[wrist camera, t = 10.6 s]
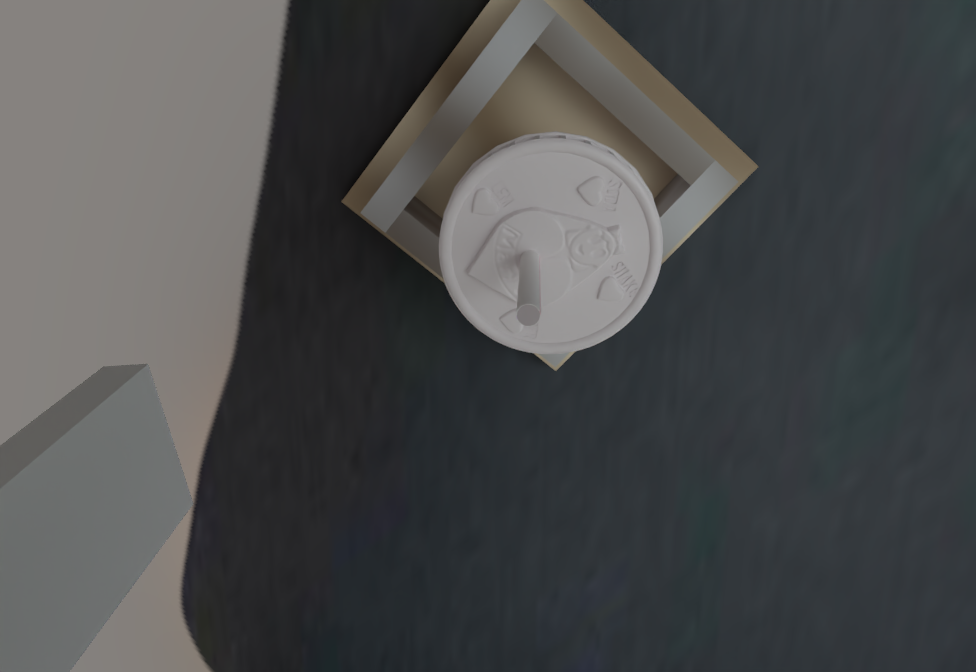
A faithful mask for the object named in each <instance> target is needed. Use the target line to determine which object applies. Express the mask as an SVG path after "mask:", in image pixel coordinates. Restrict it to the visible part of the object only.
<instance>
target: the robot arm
mask: <svg viewBox="0 0 976 672" xmlns="http://www.w3.org/2000/svg"><path fill="white" fill-rule="evenodd" d="M192 505H193V501H192V498H191V495H190V492H189V489H188V486H187V482H186V479H185V476H184V473H183V470H182V467H181V464H180V461H179V458H178V455H177V452H176V449H175V446H174V443H173V439H172V437H171V434H170V430H169V427H168V424H167V421H166V418H165V415H164V412H163V409H162V406H161V403H160V400H159V396H158V393H157V390H156V387H155V384H154V381H153V378H152V375H151V372H150V369H149V366H148V364H139V365H122V366H107V367H102V368H101V369H100V370H98V371H97V372H96V373H95V374H93V375H92V376H91V377H89V378H88V379H87V380H85V381H84V382H83V383H82V384H80V385H79V386H78V387H76V388H75V389H74V390H72V391H71V392H70V393H68V394H67V395H66V396H65V397H63V398H62V399H61V400H59V401H58V402H57V403H56V404H54V405H53V406H51V407H50V408H49V409H48V410H46V411H45V412H44V413H42V414H41V415H40V416H38V417H37V418H36V419H35V420H33V421H32V422H31V423H29V424H28V425H27V426H25V427H24V428H23V429H21V430H20V431H19V432H18V433H16V434H15V435H14V436H12V437H11V438H10V439H8V440H7V441H6V442H5V443H3V444H2V445H1V446H0V672H70V670H71V669H72V668H73V666H74V665H75V664H76V662H77V661H78V660H79V658H80V657H81V656H82V654H83V653H84V651H85V650H86V649H87V647H88V646H89V645H90V643H91V642H92V641H93V639H94V638H95V636H96V635H97V633H98V632H99V631H100V630H101V628H102V627H103V626H104V624H105V623H106V622H107V620H108V619H109V618H110V616H111V615H112V614H113V612H114V611H115V609H116V608H117V607H118V605H119V604H120V603H121V601H122V599H123V598H124V597H125V596H126V595H127V593H128V592H129V590H130V589H131V588H132V586H133V585H134V584H135V582H136V581H137V579H138V578H139V577H140V575H141V574H142V573H143V571H144V570H145V568H146V567H147V566H148V565H149V563H150V562H151V561H152V559H153V558H154V557H155V555H156V554H157V552H158V551H159V550H160V548H161V547H162V546H163V544H164V543H165V542H166V540H167V539H168V538H169V536H170V535H171V534H172V532H173V531H174V529H175V528H176V526H177V525H178V524H179V523H180V521H181V520H182V519H183V517H184V516H185V515H186V513H187V512H188V510H189V509H190V508H191V506H192Z"/></svg>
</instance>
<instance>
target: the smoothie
mask: <svg viewBox="0 0 976 672" xmlns="http://www.w3.org/2000/svg"><path fill="white" fill-rule="evenodd" d="M662 254H663V235H662V227H661V222H660V218H659V214H658V211H657V208H656V205H655V202H654V199H653V195H652V193H651V191H650V190H649V188H648V187H647V185H646V183H645V182H644V180H643V179H642V177H641V176H640V174H639V173H638V171H637V169H636V168H635V167H633V166H632V165H631V164H630V163H629V162H628V161H627V160H625V159H624V158H623V157H622V156H621V155H620V154H619V153H617V152H616V151H615V150H614V149H612V148H610V147H608V146H606V145H604V144H601V143H599V142H597V141H595V140H593V139H591V138H589V137H587V136H581V135H575V134H569V133H563V132H557V131H554V132H545V133H535V134H526V135H523V136H520V137H518V138H515V139H513V140H510V141H508V142H505V143H503V144H500V145H497V146H496V147H495V148H493V149H492V150H491V151H489V152H488V153H486V154H485V155H484V156H482V157H481V158H480V159H478V160H477V161H476V162H474V163H473V164H472V165H471V167H470V168H469V169H468V171H467V172H466V173H465V174H464V176H463V177H462V178H461V179H460V181H459V182H458V183H457V185H456V186H455V187H454V190H453V192H452V195H451V197H450V199H449V202H448V204H447V207H446V209H445V211H444V215H443V221H442V224H441V230H440V236H439V259H440V267H441V271H442V275H443V279H444V282H445V284H446V287H447V289H448V292H449V294H450V296H451V298H452V299H453V301H454V303H455V304H456V306H457V307H458V309H459V310H460V311H461V313H462V314H463V315H464V316H465V317H466V318H467V320H468V321H469V322H470V323H471V324H473V325H474V326H475V327H476V328H477V329H478V330H480V331H481V332H482V333H483V334H485V335H487V336H488V337H490V338H491V339H493V340H495V341H497V342H499V343H501V344H503V345H505V346H508V347H510V348H514V349H517V350H520V351H525V352H529V353H537V354H562V353H569V352H574V351H578V350H582V349H585V348H588V347H591V346H593V345H595V344H598V343H600V342H602V341H604V340H606V339H607V338H609V337H611V336H612V335H614V334H615V333H617V332H618V331H620V330H621V329H622V328H623V327H624V326H626V325H627V324H628V323H629V322H630V321H631V320H632V319H633V318H634V317H635V316H636V314H637V313H638V312H639V311H640V310H641V308H642V307H643V305H644V304H645V303H646V301H647V299H648V298H649V296H650V294H651V292H652V290H653V288H654V286H655V283H656V281H657V278H658V275H659V272H660V267H661V262H662Z"/></svg>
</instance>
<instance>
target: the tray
mask: <svg viewBox="0 0 976 672" xmlns="http://www.w3.org/2000/svg"><path fill="white" fill-rule="evenodd" d="M554 131H557V132H563V133H569V134H575V135H581V136H587V137H589V138H591V139H593V140H595V141H597V142H599V143H601V144H604V145H606V146H608V147H610V148H612V149H614V150H615V151H616V152H617V153H619V154H620V155H621V156H622V157H623V158H624V159H625V160H627V161H628V162H629V163H630V164H631V165H632V166H633V167H635V168H636V169H637V171H638V173H639V174H640V176H641V177H642V179H643V180H644V182H645V183H646V185H647V187H648V188H649V190H650V191H651V193H652V195H653V199H654V202H655V205H656V208H657V211H658V214H659V218H660V222H661V227H662V235H663V254H662V262H661V264H662V263H663V262H664V261H665V260H666V259H667V258H668V257H669V256H670V255H671V254H672V253H673V252H674V251H675V250H676V249H677V248H678V247H679V246H680V245H681V244H682V243H683V242H684V241H685V240H686V239H687V238H688V237H689V236H690V235H691V234H692V233H693V232H694V231H695V230H696V229H697V228H698V227H699V226H700V225H701V224H702V223H703V222H704V221H705V220H706V219H707V218H708V217H709V216H710V215H711V214H712V213H713V212H714V211H715V210H716V209H717V208H718V207H719V206H720V205H721V204H722V203H723V202H724V201H725V200H726V199H727V198H728V197H729V196H730V195H731V194H732V193H733V192H734V191H735V190H736V189H737V188H738V187H739V186H740V185H741V184H742V183H743V182H744V181H745V180H746V179H747V178H748V177H749V176H750V175H751V174H752V173H753V172H754V171H755V170H756V169H757V168H758V166H757V165H756V164H755V163H754V162H753V161H752V160H751V159H750V158H749V157H748V156H747V155H746V154H745V153H744V152H743V151H742V150H741V149H739V148H738V147H737V146H736V145H735V144H734V143H733V142H732V141H731V140H730V139H729V138H728V137H727V136H726V135H725V134H724V133H723V132H722V131H720V130H719V129H718V128H717V127H716V126H715V125H714V124H713V123H712V122H711V121H710V120H709V119H708V118H707V117H706V116H705V115H704V114H703V113H701V112H700V111H699V110H698V109H697V108H696V107H695V106H694V105H693V104H692V103H691V102H690V101H689V100H688V99H687V98H686V97H685V96H684V95H682V94H681V93H680V92H679V91H678V90H677V89H676V88H675V87H674V86H673V85H672V84H671V83H670V82H669V81H668V80H667V79H666V78H665V77H663V76H662V75H661V74H660V73H659V72H658V71H657V70H656V69H655V68H654V67H653V66H652V65H651V64H650V63H649V62H648V61H647V60H646V59H644V58H643V57H642V56H641V55H640V54H639V53H638V52H637V51H636V50H635V49H634V48H633V47H632V46H631V45H630V44H629V43H628V42H627V41H625V40H624V39H623V38H622V37H621V36H620V35H619V34H618V33H617V32H616V31H615V30H614V29H613V28H612V27H611V26H610V25H609V24H608V23H606V22H605V21H604V20H603V19H602V18H601V17H600V16H599V15H598V14H597V13H596V12H595V11H594V10H593V9H592V8H591V7H590V6H589V5H587V4H586V3H585V2H584V1H583V0H490V1H489V3H488V4H487V5H486V7H485V8H484V9H483V11H482V12H481V13H480V15H479V16H478V17H477V19H476V20H475V22H474V23H473V24H472V26H471V27H470V28H469V30H468V31H467V32H466V34H465V35H464V36H463V38H462V39H461V40H460V42H459V43H458V45H457V46H456V47H455V49H454V50H453V51H452V53H451V54H450V55H449V57H448V58H447V59H446V61H445V62H444V63H443V65H442V66H441V68H440V69H439V70H438V72H437V73H436V74H435V76H434V77H433V78H432V80H431V81H430V82H429V84H428V85H427V86H426V88H425V89H424V91H423V92H422V93H421V95H420V96H419V97H418V99H417V100H416V101H415V103H414V104H413V105H412V107H411V108H410V110H409V111H408V112H407V114H406V115H405V116H404V118H403V119H402V120H401V122H400V123H399V124H398V126H397V127H396V128H395V130H394V131H393V133H392V134H391V135H390V137H389V138H388V139H387V141H386V142H385V143H384V145H383V146H382V147H381V149H380V150H379V151H378V153H377V154H376V156H375V157H374V158H373V160H372V161H371V162H370V164H369V165H368V166H367V168H366V169H365V170H364V172H363V173H362V175H361V176H360V177H359V179H358V180H357V181H356V183H355V184H354V185H353V187H352V188H351V189H350V191H349V192H348V193H347V195H346V196H345V198H344V199H343V200H342V203H344V204H345V205H346V206H348V207H349V208H350V209H351V210H353V211H354V212H355V213H356V214H358V215H359V216H360V217H361V218H363V219H364V220H365V221H367V222H368V223H369V224H370V225H372V226H373V227H374V228H375V229H377V230H378V231H379V232H380V233H382V234H383V235H384V236H386V237H387V238H388V239H389V240H391V241H392V242H393V243H394V244H396V245H397V246H398V247H399V248H401V249H402V250H403V251H405V252H406V253H407V254H408V255H410V256H411V257H412V258H413V259H415V260H416V261H417V262H418V263H420V264H421V265H422V266H424V267H425V268H426V269H427V270H429V271H430V272H431V273H432V274H434V275H435V276H436V277H437V278H439V279H440V280H441V281H443V282H444V279H443V275H442V271H441V267H440V259H439V236H440V230H441V224H442V221H443V215H444V211H445V209H446V207H447V204H448V202H449V199H450V197H451V195H452V192H453V190H454V187H455V186H456V185H457V183H458V182H459V181H460V179H461V178H462V177H463V176H464V174H465V173H466V172H467V171H468V169H469V168H470V167H471V165H472V164H473V163H474V162H476V161H477V160H478V159H480V158H481V157H482V156H484V155H485V154H486V153H488V152H489V151H491V150H492V149H493V148H495V147H496V146H497V145H500V144H503V143H505V142H508V141H510V140H513V139H515V138H518V137H520V136H523V135H526V134H535V133H545V132H554ZM444 283H445V282H444ZM574 352H575V351H574ZM574 352H569V353H562V354H537V353H534V354H535V355H536V356H538V357H539V358H540V359H541V360H543V361H544V362H545V363H546V364H548V365H549V366H550V367H551V368H553V369H554V370H555V371H556V370H557V369H558V368H559V367H560V366H561V365H562V364H563V363H564V362H565V361H566V360H567V359H568V358H569V357H570V356H571V355H572V354H573V353H574Z"/></svg>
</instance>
